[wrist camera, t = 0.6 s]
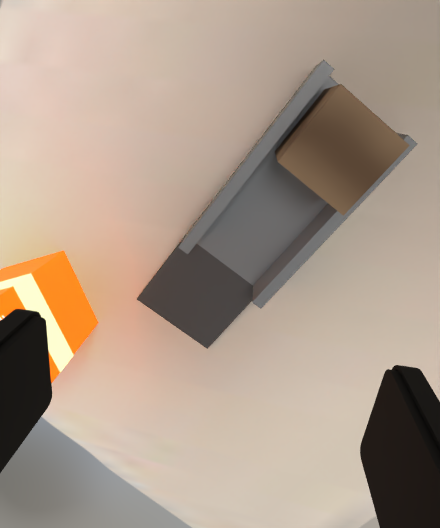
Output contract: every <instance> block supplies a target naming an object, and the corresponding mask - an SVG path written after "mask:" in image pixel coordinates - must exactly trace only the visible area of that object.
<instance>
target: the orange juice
mask: <svg viewBox="0 0 440 528" xmlns="http://www.w3.org/2000/svg"><path fill="white" fill-rule="evenodd" d="M15 309H25V310H31V311H37V312H39V313H40V315H41V317H43V318H45V320H46V326H47V338H48V350H49V362H50V374H51V383H52V382H53V381H54V379H55V378H56V377H57V376H58V374H59V373H61V371H62V370H63V369H64V367H65V366H66V365H67V364H68V362H69V361H70V360H71V358H72V357H73V356H74V354H75V352H76V351H77V350H78V348H79V347H80V346H81V344H82V343H83V342H84V341H85V339H86V338H87V337H88V335H89V334H90V333H91V332H92V330H93V329H94V328H95V326H96V325H97V324H98V321H97V319H96V317H95V315H94V313H93V310H92V308H91V306H90V304H89V302H88V300H87V298H86V296H85V294H84V292H83V290H82V288H81V286H80V283H79V281H78V279H77V277H76V275H75V273H74V271H73V269H72V267H71V265H70V263H69V261H68V258H67V256H66V254H65V252H64V251H60V252H57V253H54V254H50V255H47V256H43V257H40V258H37V259H33V260H30V261H26V262H23V263H20V264H16V265H13V266H9V267H6V268H3V269H1V270H0V321H1V320H2V319H3V318H5V317H6V316H7V315H8V314H9V313H11V312H12V311H13V310H15Z"/></svg>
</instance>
